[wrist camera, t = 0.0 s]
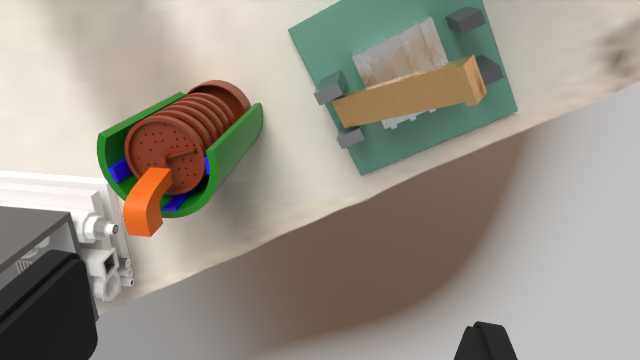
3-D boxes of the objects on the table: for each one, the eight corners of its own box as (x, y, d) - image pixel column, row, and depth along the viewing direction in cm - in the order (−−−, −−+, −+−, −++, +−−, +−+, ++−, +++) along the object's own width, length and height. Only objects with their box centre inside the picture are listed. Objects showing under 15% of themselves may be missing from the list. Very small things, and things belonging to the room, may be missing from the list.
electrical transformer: (1, 170, 54) (-260, 301, 32) (138, 181, 52) (-33, 326, 30) (33, 265, 61) (-163, 429, 38) (156, 277, 59) (27, 455, 37)
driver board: (289, 28, 42) (275, 36, 36) (458, -65, 37) (476, -75, 31) (361, 171, 48) (360, 199, 42) (514, 108, 43) (539, 128, 37)
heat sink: (316, 71, 43) (308, 84, 37) (427, 15, 40) (437, 20, 34) (349, 136, 46) (346, 157, 40) (455, 88, 42) (469, 105, 36)
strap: (336, 96, 39) (325, 105, 38) (473, 54, 29) (463, 65, 28) (350, 123, 40) (339, 133, 39) (486, 92, 30) (477, 104, 29)
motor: (255, 74, 45) (180, 132, 27) (270, 149, 49) (214, 245, 31) (170, 85, 46) (45, 147, 28) (191, 157, 50) (93, 252, 32)
